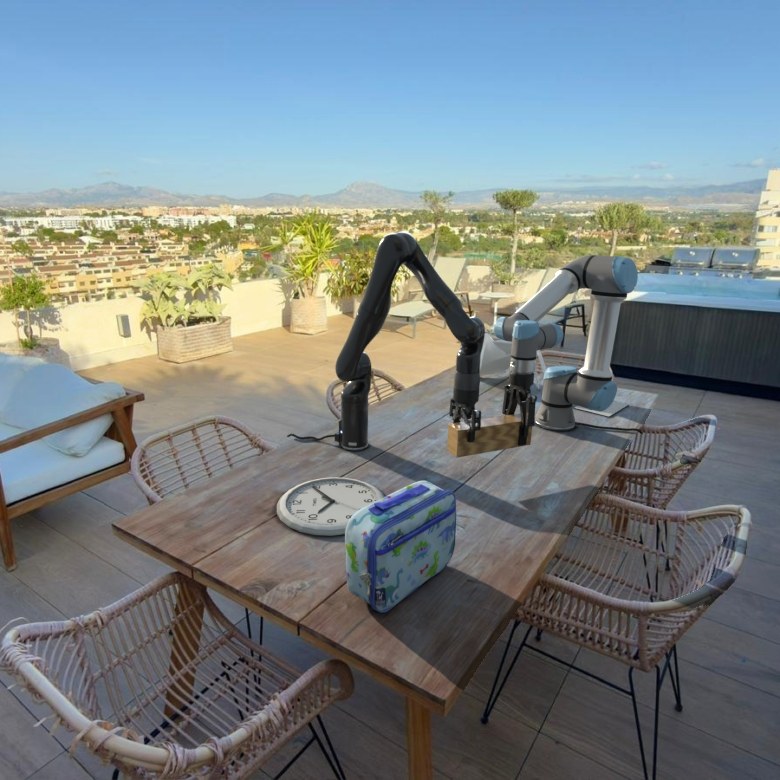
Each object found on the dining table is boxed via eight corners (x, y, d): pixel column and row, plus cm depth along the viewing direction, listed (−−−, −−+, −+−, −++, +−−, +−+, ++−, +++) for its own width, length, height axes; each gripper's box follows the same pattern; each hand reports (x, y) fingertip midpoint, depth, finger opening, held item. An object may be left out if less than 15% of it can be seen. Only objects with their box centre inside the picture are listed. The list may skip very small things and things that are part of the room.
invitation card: (608, 416, 214) (573, 407, 224) (608, 416, 214) (573, 408, 224) (628, 404, 229) (594, 396, 238) (628, 405, 229) (594, 397, 238)
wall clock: (392, 527, 129) (268, 531, 127) (391, 533, 130) (269, 537, 127) (383, 473, 158) (282, 475, 155) (383, 478, 158) (282, 480, 156)
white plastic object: (486, 418, 267) (465, 395, 242) (467, 346, 289) (447, 318, 264) (556, 394, 255) (543, 367, 230) (531, 321, 277) (516, 289, 252)
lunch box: (374, 626, 100) (375, 530, 93) (338, 598, 107) (337, 508, 101) (459, 568, 117) (465, 484, 111) (424, 547, 124) (427, 467, 118)
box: (519, 438, 172) (521, 413, 169) (530, 444, 166) (533, 419, 164) (446, 450, 161) (448, 423, 159) (456, 457, 156) (458, 430, 154)
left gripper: (443, 380, 159) (441, 430, 163) (468, 393, 146) (464, 447, 151) (465, 378, 161) (462, 427, 166) (491, 391, 149) (486, 443, 154)
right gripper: (494, 365, 167) (489, 432, 174) (531, 380, 151) (524, 454, 158) (513, 363, 170) (507, 429, 177) (552, 378, 154) (544, 450, 161)
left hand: (463, 436), depth 159 cm, fingers open, 8 cm apart
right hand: (515, 440), depth 167 cm, fingers closed on box, 6 cm apart
